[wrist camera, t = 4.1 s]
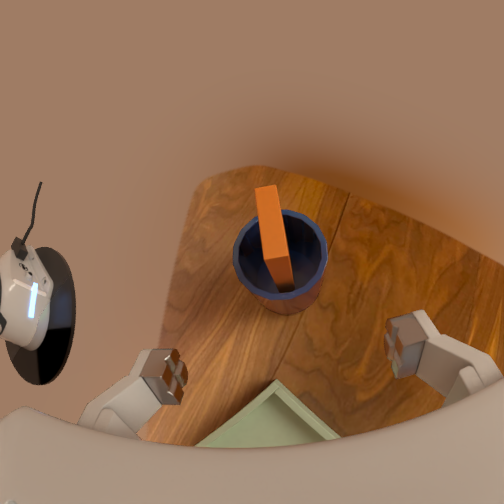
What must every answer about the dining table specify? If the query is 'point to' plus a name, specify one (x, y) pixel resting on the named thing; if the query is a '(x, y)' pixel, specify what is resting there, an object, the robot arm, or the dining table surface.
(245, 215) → the dining table surface
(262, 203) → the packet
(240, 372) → the dining table surface
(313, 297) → the blue cup
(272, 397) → the tray
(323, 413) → the dining table surface
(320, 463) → the robot arm
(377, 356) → the dining table surface
